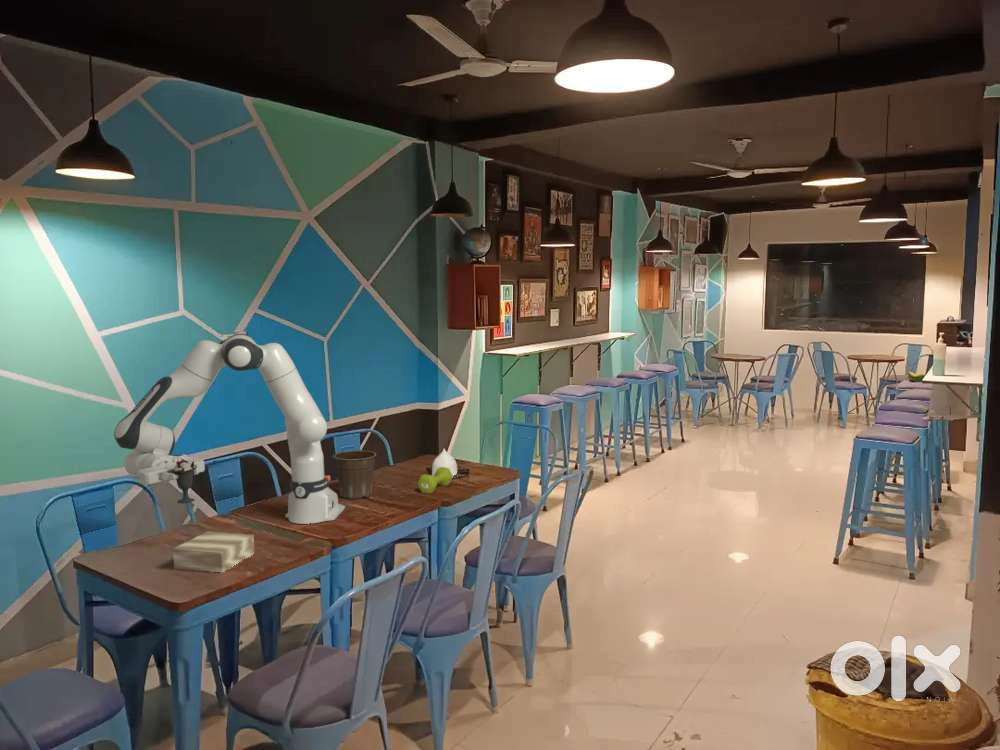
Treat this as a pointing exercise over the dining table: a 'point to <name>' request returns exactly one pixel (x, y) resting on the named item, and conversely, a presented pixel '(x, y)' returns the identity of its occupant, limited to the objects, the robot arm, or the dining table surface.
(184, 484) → the sundae
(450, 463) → the teardrop
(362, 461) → the plant pot
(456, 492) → the dining table surface
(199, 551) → the cream block
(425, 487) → the dumbbell
